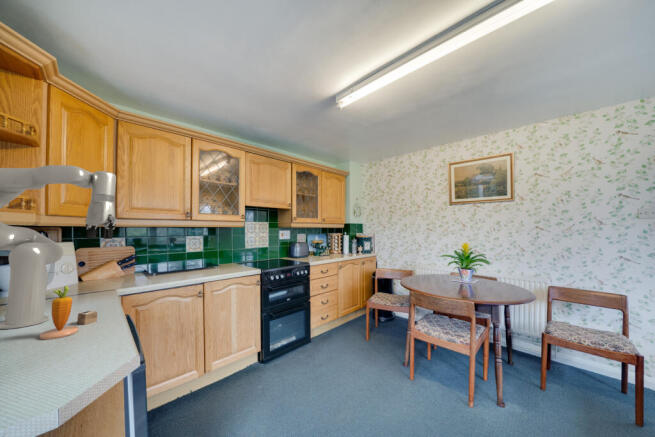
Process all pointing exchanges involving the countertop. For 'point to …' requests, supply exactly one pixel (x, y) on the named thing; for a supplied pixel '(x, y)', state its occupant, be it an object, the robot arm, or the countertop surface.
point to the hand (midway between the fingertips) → (99, 238)
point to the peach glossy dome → (58, 333)
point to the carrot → (61, 309)
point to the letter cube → (87, 317)
